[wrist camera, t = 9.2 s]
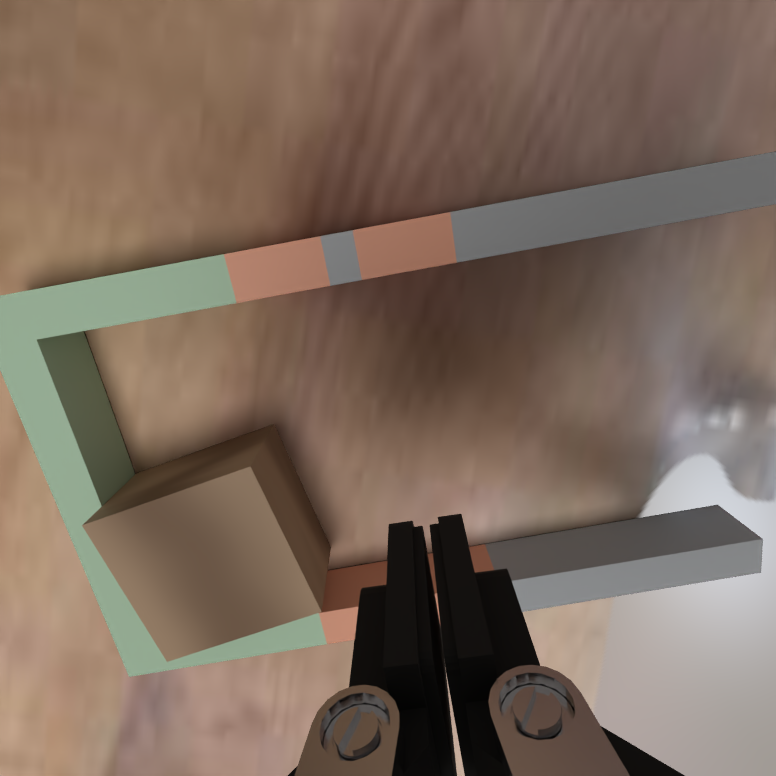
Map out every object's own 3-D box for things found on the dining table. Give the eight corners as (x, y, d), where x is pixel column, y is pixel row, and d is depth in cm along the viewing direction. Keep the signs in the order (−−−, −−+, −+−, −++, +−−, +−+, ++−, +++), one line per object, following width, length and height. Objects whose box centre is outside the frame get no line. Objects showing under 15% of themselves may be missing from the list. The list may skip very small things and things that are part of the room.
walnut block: (274, 422, 19) (250, 466, 15) (331, 544, 21) (321, 612, 17) (138, 470, 20) (82, 525, 16) (204, 587, 21) (167, 661, 18)
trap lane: (724, 163, 17) (782, 150, 14) (716, 535, 21) (760, 572, 19) (26, 293, 17) (-30, 300, 15) (156, 628, 22) (129, 676, 19)
